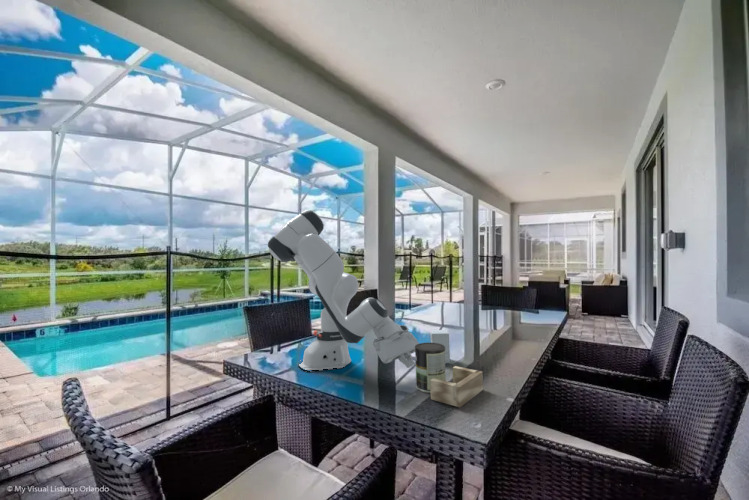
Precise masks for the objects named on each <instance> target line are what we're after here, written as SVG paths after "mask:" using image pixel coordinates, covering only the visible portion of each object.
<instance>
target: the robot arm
mask: <svg viewBox="0 0 749 500" xmlns="http://www.w3.org/2000/svg"><path fill="white" fill-rule="evenodd" d="M324 226H325V225H324V222H323V220H322V218H321V217H320V216H319V214H318V213H316V212H315V211H313V210H311V209H306V210H303V211H301V212H300V213H299V214H298V215H296V216H295V217H293V218H292V219H291V220H289V221H287V223H286V224H285V225H284V226H283V227H281V228H280V230H278V232H277V233H276V234H275V235H274V236H272V237H270V239H269V240H268V241H267V247H268V250H269V253H270V254H271V256H272V257H273V258H275V260H278V261H280V262H281V263H288V262H292V261H293V262H296V264H298V266H299V267H300V268H301V270H302V271H303V272H304V273H305V274H306V275H307V278H308V283H307V284H308V285H307V286H308V289H309V291H310V293H311V294H313V295H316V296H317V297H318V299H319V300H320V302H321V304H322V305H323V309H321V312H320V329H319V330H313V332H312V334H313V336H316V339H315V340H314V341H312V343H311V344H310V345H309V346H307V347H306V348H305V349H304V352H303V359H302V360H303V362H302V363H301V364H299V366H300V367H301V368H303V369H305V370H319V371H324V370H323V369H328V370H334V369H333V368H337V369H344V368H345V367H346V366H347V365H349V364H351V362H352V359H351V357H350V353H349V347H348V345H349V344H358V343H359V342H361V341H362V340H363V338H364V337H365V336H367V335H368V333H370V332H371V331H372V332H373V335H374V336H375V338H374V340H373V342H372V343H373V346H374V348H375V351H376V353H377V355H378V357H379V359H380V361H381V362H382V363H383V364H388V363H389V364H390V363H392V362H393V361H396V360H398V361H399V362H400V363H402V364H403V365H404V366H405V367H406V368H411V367H414V365H416V362H414V361H415V360H413V356H412V354H414V353H415V345H417V344H420V342H419V341H418V339H417V338H416V337H415V336H414V334H413V333H412V332H410V331H409V327H408V326H407V325H402V324H398V323H395V321H394V320H393V319H391V318H390V316H389V311H388V309H387V307H385V305H384V304H383V302H382V301H381V300H380V299H378V298H374V297H368V298H365V299H363V300H362V301H361V302H360V304H359V305H358V307H356V308H355V309H354V310H352V311H351V312H350V313H349V314H348V315H347V311H348V306H349V303H350V302H351V299H353V297H354V296H355V295H356V294H357V292H358V290H359V280H358V278H357V277H356V276H355V274H351V273H348V272H344V270H345V267H344V266H345V265H344V262H343V259H342V258H341V257H340V256H339V254H338V253H337V252H336V250H335V249H333V247H331V245H329V243H328V242H327V241H325V240H324V239H323V238H322V237H321V236H320V235H321V234H322V232H323V231H324ZM343 367H344V368H343Z"/></svg>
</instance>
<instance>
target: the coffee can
mask: <svg viewBox="0 0 749 500" xmlns="http://www.w3.org/2000/svg"><path fill="white" fill-rule="evenodd" d="M414 353H415V355H414V356H415V358H414V359H415V388H416V389H417V390H418V391H419V392H422V393H427V394H428V393H429V394H431V391H430V380H431V379H433V378H435V379H439V380H443V381H446V363H445V346H444V345H442V344H439V343H431V342H419V344H417V345H415V352H414Z"/></svg>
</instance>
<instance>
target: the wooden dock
mask: <svg viewBox="0 0 749 500" xmlns="http://www.w3.org/2000/svg"><path fill="white" fill-rule="evenodd" d="M483 378H484V376H483V371H482V370H477V369H471V368H467V367H461V366H457V365H454V366H453V367H452V382H451V381H446V380H445V381H443V380H439V379H435V378H433V379H431V380H430V391H431V393H430V400H433V401H436V402H440V403H442V404H443V403H444V404H446V405H450V406H454V407H456V408H461V407H463V406H464V405H465V404H467V403H468V402H469V401H470V400H471V399H473V398H474V397H475V396H477V395H479V393H481V392H482V391H483V390H484V381H483V380H484V379H483Z"/></svg>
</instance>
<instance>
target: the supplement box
mask: <svg viewBox="0 0 749 500" xmlns="http://www.w3.org/2000/svg"><path fill="white" fill-rule="evenodd" d="M430 343H439V344H442V345H444V346H445V364H451V352H450V351H451V349H450V333H449V331H448V330H447V329H431V330H430Z"/></svg>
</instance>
